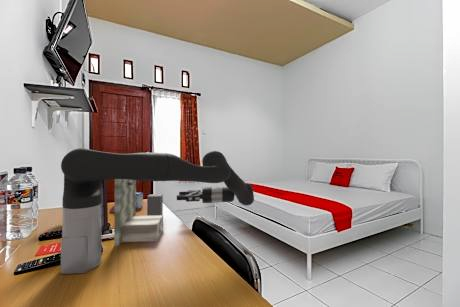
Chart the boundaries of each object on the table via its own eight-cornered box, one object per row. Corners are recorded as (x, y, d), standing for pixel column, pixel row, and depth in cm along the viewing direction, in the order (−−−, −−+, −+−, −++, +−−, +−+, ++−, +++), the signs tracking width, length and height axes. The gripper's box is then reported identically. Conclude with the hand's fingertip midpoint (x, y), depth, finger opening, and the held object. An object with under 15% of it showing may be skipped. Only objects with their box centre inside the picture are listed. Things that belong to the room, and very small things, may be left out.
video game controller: (123, 218, 113) (130, 204, 116) (115, 215, 110) (121, 202, 113) (116, 214, 120) (122, 201, 122) (107, 211, 117) (114, 199, 119)
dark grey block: (160, 222, 102) (160, 196, 102) (147, 222, 102) (147, 196, 102) (162, 219, 107) (162, 194, 107) (149, 219, 106) (149, 194, 106)
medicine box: (125, 208, 126) (125, 193, 126) (130, 206, 130) (130, 191, 130) (138, 209, 125) (138, 193, 125) (143, 207, 129) (143, 192, 129)
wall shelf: (154, 244, 78) (155, 175, 78) (114, 245, 77) (114, 175, 76) (164, 227, 96) (164, 171, 96) (131, 227, 95) (132, 171, 94)
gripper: (212, 184, 114) (179, 185, 113) (212, 189, 100) (175, 190, 98) (212, 199, 114) (179, 200, 113) (212, 206, 100) (175, 207, 99)
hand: (178, 195), depth 106 cm, fingers open, 8 cm apart
